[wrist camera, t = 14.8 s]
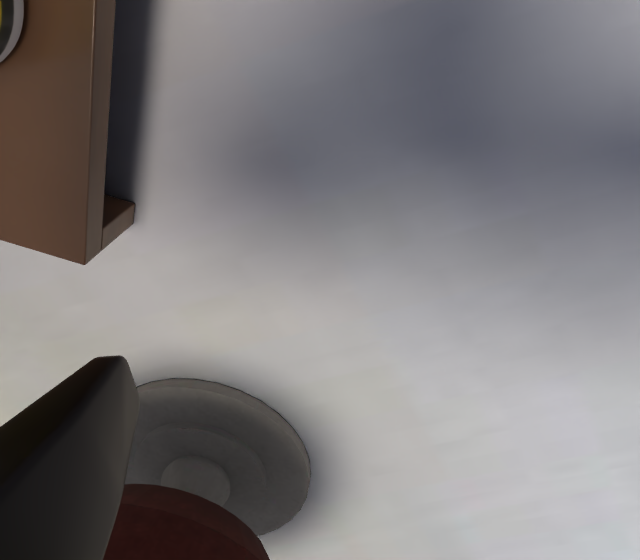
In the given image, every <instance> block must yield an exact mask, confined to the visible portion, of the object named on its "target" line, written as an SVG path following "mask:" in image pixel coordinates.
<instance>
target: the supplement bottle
mask: <svg viewBox="0 0 640 560" xmlns="http://www.w3.org/2000/svg"><path fill="white" fill-rule="evenodd" d="M23 17H24V2H23V0H0V62H1V61H3V60H4V59H5V58H6V57H7V56H8V55H9V53H10V52H11V51H12V50H13V48H14V47H15V45H16V43H17V41H18V39H19V36H20V33H21V30H22V25H23Z"/></svg>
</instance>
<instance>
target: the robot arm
mask: <svg viewBox="0 0 640 560" xmlns="http://www.w3.org/2000/svg"><path fill="white" fill-rule="evenodd" d="M139 405H140V402H139V394H138V391H137V388H136V385H135V382H134V379H133V376H132V374H131V371H130V368H129V365H128V362H127V360H126V359H125V358H124V357H122V356H119V355H118V356H104V357H97V358H94V359H93V360H91V361H90V362H89V363H87V364H86V365H84V366H83V367H82V368H80V369H79V370H78V371H76V372H75V373H74V374H72V375H71V376H69V377H68V378H67V379H65V380H64V381H63V382H61V383H60V384H58V385H57V386H56V387H54V388H53V389H52V390H50V391H49V392H48V393H46V394H45V395H43V396H42V397H41V398H39V399H38V400H37V401H35V402H34V403H32V404H31V405H30V406H28V407H27V408H26V409H24V410H23V411H22V412H20V413H19V414H17V415H16V416H15V417H13V418H12V419H11V420H9V421H8V422H6V423H5V424H4V425H2V426H1V427H0V560H103V558H104V555H105V551H106V548H107V545H108V542H109V539H110V536H111V532H112V529H113V526H114V523H115V520H116V516H117V513H118V509H119V506H120V502H121V498H122V494H123V489H124V484H125V479H126V474H127V469H128V464H129V459H130V454H131V449H132V444H133V439H134V433H135V428H136V423H137V418H138V413H139Z"/></svg>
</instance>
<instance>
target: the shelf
mask: <svg viewBox="0 0 640 560" xmlns="http://www.w3.org/2000/svg"><path fill="white" fill-rule="evenodd" d="M23 2H24V17H23V25H22V30H21V33H20V36H19V39H18V41H17V43H16V45H15V47H14V48H13V50H12V51H11V52H10V53H9V55H8V56H7V57H6V58H5V59H4V60H3V61H1V62H0V240H3V241H6V242H9V243H13V244H16V245H19V246H23V247H26V248H29V249H33V250H36V251H39V252H43V253H46V254H49V255H53V256H56V257H59V258H63V259H66V260H69V261H72V262H76V263H79V264H82V265H86V264H87V263H88V262H89V261H90V260H91V259H92V258H94V257H95V256H96V255H97V254H98V253H99V252H100V251H102V250H103V249H104V248H105V247H106V246H108V245H109V244H110V243H111V242H112V241H113V240H115V239H116V238H117V237H118V236H119V235H120V234H122V233H123V232H124V231H125V230H126V229H127V228H129V227H130V226H131V225H132V224H133V219H134V208H135V204H134V203H131V202H128V201H125V200H122V199H118V198H115V197H112V196H108V195H105V194H104V188H105V171H106V155H107V138H108V121H109V104H110V88H111V71H112V54H113V37H114V21H115V4H116V0H23Z"/></svg>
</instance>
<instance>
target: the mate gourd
mask: <svg viewBox="0 0 640 560" xmlns="http://www.w3.org/2000/svg"><path fill="white" fill-rule="evenodd" d="M136 388H137V391H138V394H139V402H140V405H139V413H138V418H137V423H136V428H135V433H134V439H133V444H132V449H131V454H130V459H129V464H128V469H127V474H126V479H125V484H124V489H123V494H122V498H121V502H120V506H119V509H118V513H117V516H116V520H115V523H114V526H113V529H112V532H111V536H110V539H109V542H108V545H107V548H106V551H105V555H104V558H103V560H270V559H269V557H268V555H267V553H266V551H265V549H264V547H263V545H262V543H261V541H260V540H259V538H258V537H257V536H258V535H263V534H266V533H268V532H271V531H273V530H276V529H278V528H280V527H281V526H283V525H284V524H286V523H287V522H289V521H290V520H291V519H292V518H293V517H294V516H295V515H296V514H297V513H298V512H299V511H300V510H301V508H302V506H303V504H304V502H305V500H306V498H307V493H308V488H309V482H310V475H311V472H310V463H309V458H308V455H307V452H306V450H305V447H304V445H303V443H302V441H301V440H300V438H299V437H298V435H297V434H296V432H295V431H294V429H293V428H292V427H291V426H290V425H289V424H288V423H287V422H286V421H285V420H284V419H283V418H282V417H281V416H280V415H279V414H278V413H277V412H275V411H274V410H272V409H271V408H270V407H268V406H267V405H265V404H264V403H263V402H261V401H259V400H257V399H255V398H253V397H251V396H250V395H248V394H246V393H244V392H242V391H239V390H236V389H233V388H230V387H227V386H224V385H221V384H218V383H213V382H207V381H202V380H196V379H168V380H161V381H154V382H150V383H148V384H145V385H142V386H139V387H136Z"/></svg>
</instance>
